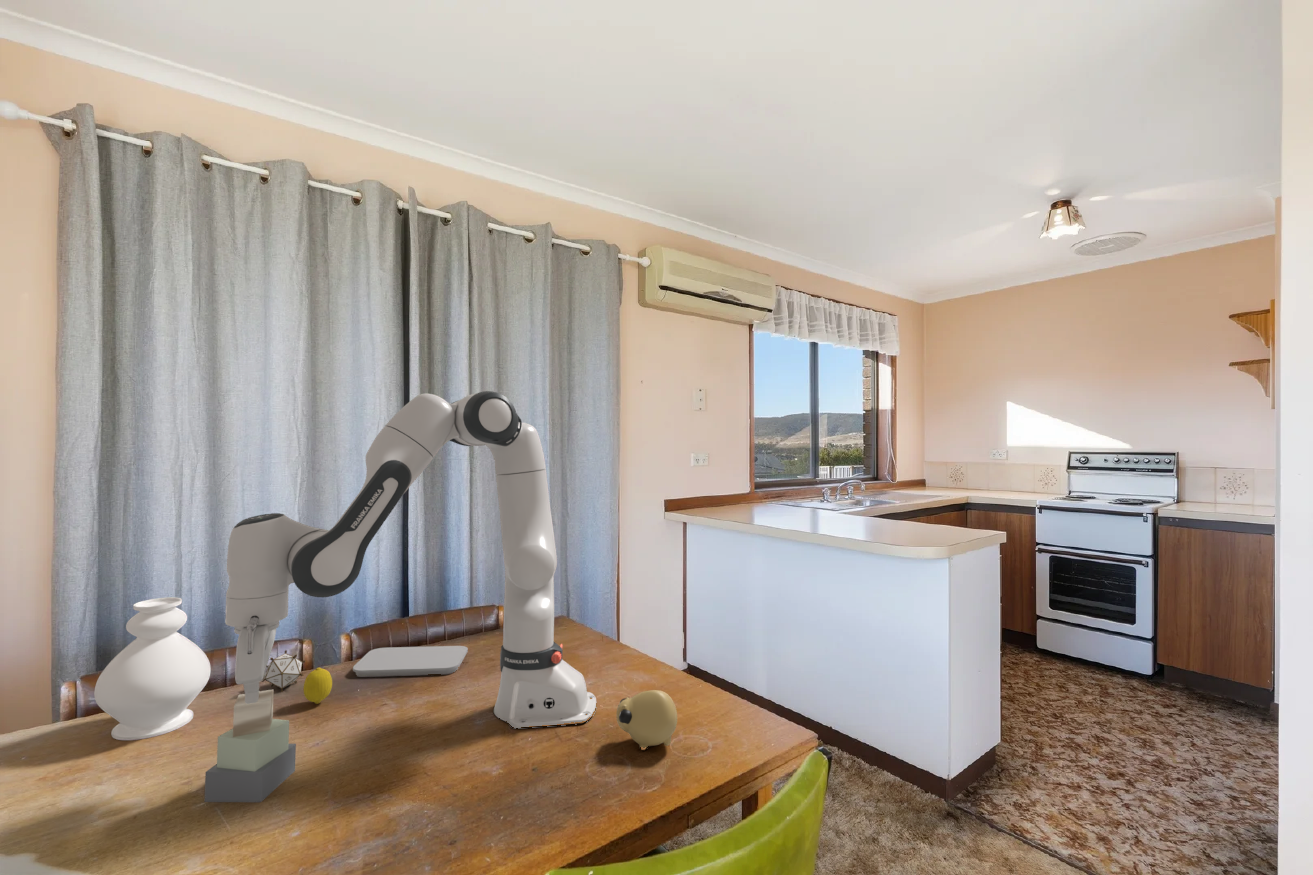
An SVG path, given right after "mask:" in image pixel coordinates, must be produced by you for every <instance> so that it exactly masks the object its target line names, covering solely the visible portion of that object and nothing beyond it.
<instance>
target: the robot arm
mask: <svg viewBox="0 0 1313 875" xmlns="http://www.w3.org/2000/svg"><path fill="white" fill-rule="evenodd" d="M539 435H540V434H539V432H538V430H537V428H536V427H535V426H533V425H532V424H529V423H527V422H522V419H521V418H520V415H518V413H517V411H516V409H515V407H514V405H513V403H512V402H511V400H510V399H509V398H508V397H507V396H505V395H503V394H501V393H500V392H497V391H493V390H492V391H491V390H486V391H480V392H476V393H472V394H469V395H466V396H464V397H462V398H461V399H459V400H455V401H453V402H451V403H450V402H448V401H447V400H445V399H444V398H442V397H440V396H439V395H436V394H434V393H433V394H432V393H427V392H425V393H421V394H420V393H419V394H418V395H416V396H415V397H413V398H412V399H411V400H410V401H408V402H407V403H406V404H405V405H404V406H402V407H401V408H400V409H399V410H398V411H397V412H396V413H395V414H394V415H393V416H392V418H390V419H389V420H388V421H387V423H386V424H385V425H384V426H383V428H382V429H381V430H380V431H379V432H378V434H377V435H376V436H375V438H374V440H372V443H371V444H370V447H369V448H368V450H367V452H366V454H365V467H366V468H365V469H366V476H365V480H364V483H363V486H362V487H361V489H360V491H359V493H357V495H356V497H355V498H354V499H353V500H352V502H350V504H349V506H348V507H347V509H345V511H344V513H343V514H342V515H341V516H340V518H339V519H338V521H337V522H336V523H335V524H334V525H333V527H331V528H330V529H329V530H328V529H326V528H325V529H324V528H318V527H314V526H311V525H307V524H304V523H301V522H299V521H296V520H294V519H292V518H290V517H289V516H287V515H286V514H284V513H280V512H274V513H273V512H272V513H265V514H259V515H255V516H249V517H248V518H245V519H242V520H240V521H239V522H237V523H236V524H235V525H234V526H233V527H232V529H231V532H230V535H229V538H228V546H227V555H226V556H227V558H226V572H227V575H228V581H229V583H228V588H227V590H226V592H225V593H226V594H225V621H224V622H225V625H226V626H228V627H232V628H233V627H234V628H233V629H234V634H237V635H238V637H237V642H236V651H235V652H236V655H235V670H234V671H235V672H234V677H235V683H236V685H242V686H243V691H244V694H245V703H247V704H249V703H255V702H257V701H258V699H259V692H260V683H261V681H263V680H264V679H265V675H266V671H267V668H266V666H268V664H269V663H268V662H269V660H270V658H271V657H270V655H271V653H272V649H273V647H274V642H275V639H276V635H277V629H278V628H279V627H280V621H281V620H284V619H286V618H287V617H288V616H289V589H290V588H289V587H290V585H291V584H294V585H295V586H296V588H298V590H299V591H301V592H302V593H303V594H305V595H307V596H310V597H312V598H330V597H333V596H336V595H338V594H341V593H343V592H345V591H347V589H349V588H350V587H351V586H352V585H353V584H354V583H355V581H356V580H357V578H358V577H359V575H360V572H361V570H362V567H363V566H362V565H363V562H364V557H365V554H366V552H367V549H368V547H369V545H370V544H371V543H372V540H373V539H374V537H375V536H376V534H377V533H378V531H379V530H380V529H381V527H382V526H383V525H384V523H385V522H386V520H387V518H388V517H389V516H390V514H391V513H392V511H393V510H394V508H395V507H396V505H397V504H398V503H399V502H400V500H401V498H402V497H403V496H404V494H406V492H407V491H408V489H409V488H410V487H411V486H412V484H413V483H414V482H416V480H417V479H418V478H419V476H420V475H421V474H422V473H423V472H424V470H426V468H427V467H428V466H429V465H430V464H431V462H432V460H433V459H434V458H435V457H436V455H437V454H438V452H439V451H440V449H441V448H442V447H443V446H444V445H445V444H447V442H449V441H450V442H453V443H454V444H456V445H461V446H464V447H483V446H486V447H487V448H488V449H489V451H490V452H491V454H492V457H493V460H494V469H495V481H496V488H497V498H498V506H499V507H498V508H499V519H500V529H501V530H500V532H501V533H500V534H501V543H502V553H503V554H502V555H503V563H504V564H503V565H504V572H505V573H504V574H505V575H504V600H503V601H504V602H503V630H502V631H503V636H502V639H503V640H502V645H501V646H500V653H499V654H500V655H499V667H500V668H499V669H500V672H501V673H500V674H501V676H500V681H499V688H498V693H497V698H496V700H495V705H494V707H493V713H494V715H495V717H497V718H498V719H499V718H500V719H499V720H501V721H504V722H506V721H507V722H506V723H509V724H510V725H511V726H512V727H514V728H513V729H516V728H518V729H522V728H521V727H529V726H542V725H557V724H564V723H571V722H574V723H575V722H582V721H586V720H587V719H588V718H589V717H591V716H592V714H593V712H594V711H595V708H596V709H597V707H596V703H597V698H596V696H595V694H594V693H593V692H590V691H587V684H586V681H585V677H584V675H583V674H582V673H581V672H580V671H579V670H577V669H575V668H574V667H573V666H571V664H569V663H568V662H566V661H565V660H564V659H563V650H564V649H563V643H561V644H558V643H557V642H555V641H554V640H555V639H554V638H555V637H554V634H555V633H554V632H555V581H554V580H555V579H554V578H555V576H554V575H555V573H556V570H557V566H558V556H557V550H556V549H557V548H556V547H557V546H556V539H555V533H554V532H555V531H554V525H553V517H552V511H551V510H552V509H551V503H550V493H549V485H548V474H547V466H546V460H545V454H544V448H543V445H542V441H541V438H540V436H539ZM263 682H264V681H263ZM590 698H592V699H590ZM595 712H596V711H595ZM586 714H587V715H586ZM509 724H508V725H509ZM510 725H509V726H510ZM511 726H510V727H511ZM512 727H511V728H512Z"/></svg>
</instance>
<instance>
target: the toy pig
mask: <svg viewBox="0 0 1313 875" xmlns="http://www.w3.org/2000/svg"><path fill="white" fill-rule="evenodd" d="M616 723H617V725H618V726H619V728H620V729H621V730H622V731H624V732H626V733H628V735H629V736H630V738H631V739H632V740H633V741H634V742H635V743H637V744H638V745H639V748H640V747H643V748H645V747H648V746H649V747H653V746H654V747H655V746H658V745H661V744H663V745H664V746H670V745H671V743H672V735H673V734H674V733H675V730H676V728H677V725H678V713H677V706H676V704H675V702H674V700H673V698H672V697H671V696H670V695H669V694H668V693H667V692H665V691H663V690H660V689H659V690H658V689H657V690H656V689H651V690H645V691H641V692H639V693H637V694H635V695H633V696H632V697H628V696H626V697H624V698H622V699H621V700H620V701H619V704H618V705H617V709H616ZM649 747H648V748H649Z"/></svg>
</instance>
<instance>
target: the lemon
mask: <svg viewBox="0 0 1313 875" xmlns="http://www.w3.org/2000/svg"><path fill="white" fill-rule="evenodd" d="M332 688H333V678H332V675H331V673H330V671H328V670H327V669H324V668H321V667H316V669H314V670H312V671H310V672H309V673H308V674H307V676H306V678H305V679H304V682H303V696H304V697H305V699H306V700H307V701H309V702H312V703H314V704H316V705H318V704H320V703H321V701H324V700H325V699H326V698H327V697H328V696H329V695H330V693H331V691H332Z"/></svg>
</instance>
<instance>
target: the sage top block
mask: <svg viewBox="0 0 1313 875" xmlns="http://www.w3.org/2000/svg"><path fill="white" fill-rule="evenodd" d="M289 738H290V720H288V719H280V718H279V719H278V718H273V719H272V723H271V727H270V730H269V731H264V732H258V733H253V734H248V735H242V736H237V737H233V728H231V729H229V730H226V731H225V732H224V733H222V734H221V735H220V734H219V736H217V748H216V749H217V750H216V751H217V752H216V764H217V768H226V769H235V770H245V771H254V772H255V771H256V770H258V769H259V768H261V767H262V766H264V765H265V764H267V763H268V762H270V761H271V760H273V759H274V758H276V757H277V756H279V755H280V754H282V753H283V752H285V751H286V750H288V744H290V743H289Z"/></svg>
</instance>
